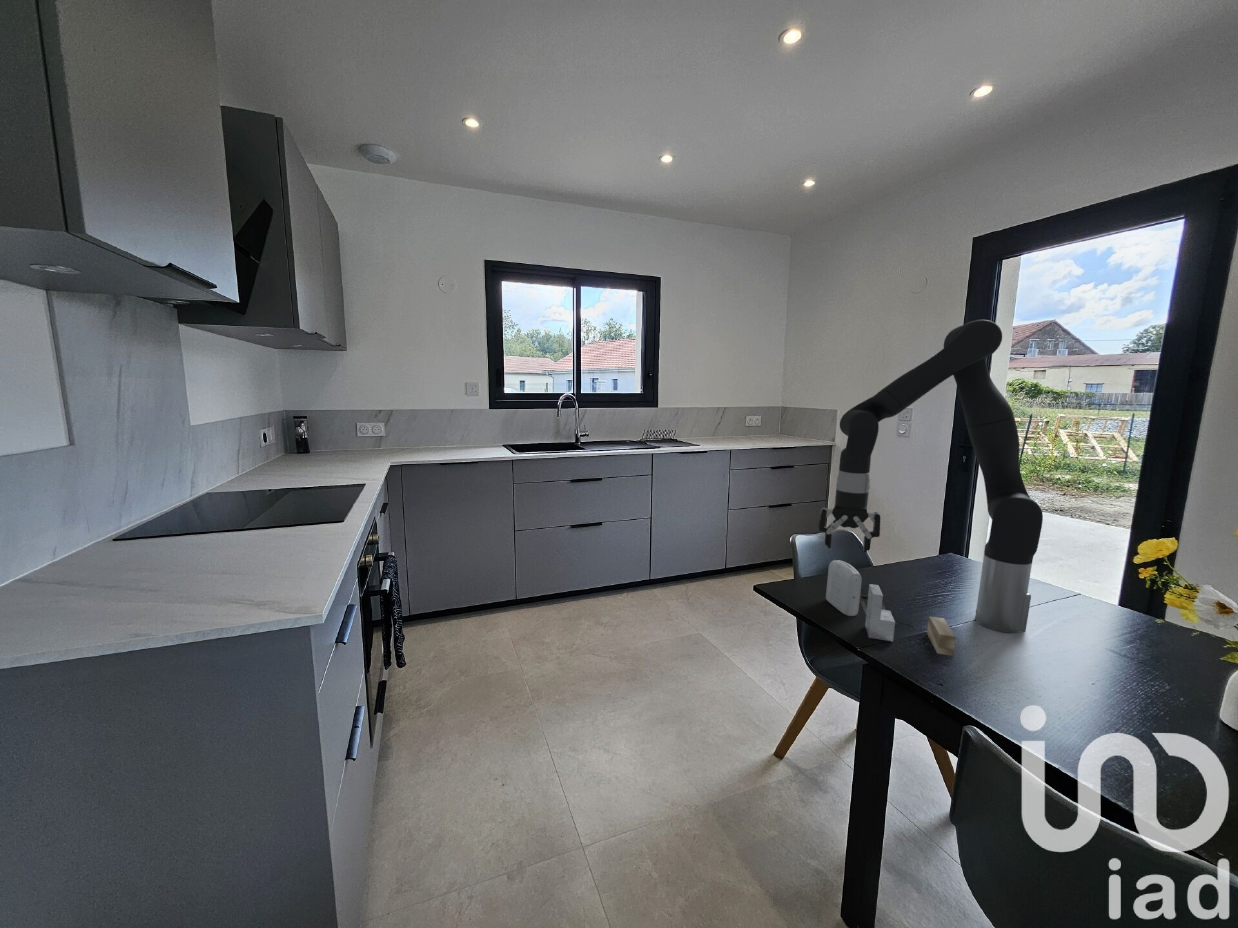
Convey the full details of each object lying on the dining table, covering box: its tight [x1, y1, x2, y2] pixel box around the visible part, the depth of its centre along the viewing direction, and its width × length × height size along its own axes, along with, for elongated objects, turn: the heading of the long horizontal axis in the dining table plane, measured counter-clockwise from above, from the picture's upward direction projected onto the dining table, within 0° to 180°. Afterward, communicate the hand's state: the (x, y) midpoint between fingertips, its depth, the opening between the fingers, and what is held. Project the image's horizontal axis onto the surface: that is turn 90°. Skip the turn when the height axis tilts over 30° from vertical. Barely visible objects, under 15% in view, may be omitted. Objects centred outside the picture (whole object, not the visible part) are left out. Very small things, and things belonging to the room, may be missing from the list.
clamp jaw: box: [864, 583, 896, 643], centre depth 114 cm, size 5×6×11 cm
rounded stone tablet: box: [825, 559, 863, 617], centre depth 128 cm, size 10×4×12 cm, turn 8°
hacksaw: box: [859, 587, 916, 632], centre depth 129 cm, size 24×10×2 cm, turn 164°
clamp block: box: [926, 616, 957, 657], centre depth 110 cm, size 3×9×4 cm, turn 160°
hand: (846, 549), depth 126 cm, fingers open, 8 cm apart
